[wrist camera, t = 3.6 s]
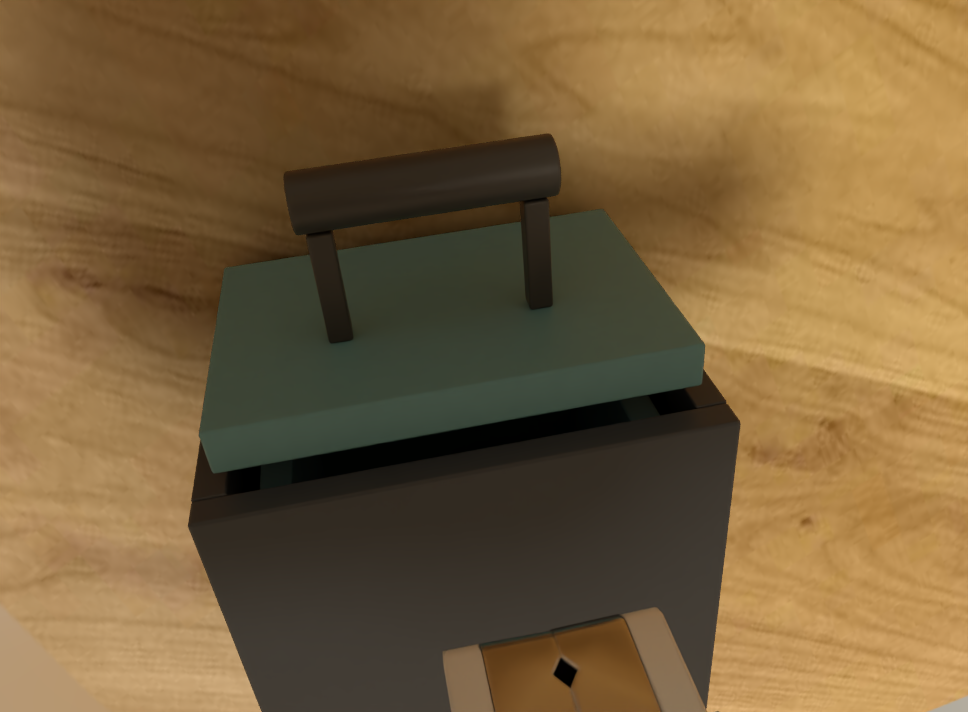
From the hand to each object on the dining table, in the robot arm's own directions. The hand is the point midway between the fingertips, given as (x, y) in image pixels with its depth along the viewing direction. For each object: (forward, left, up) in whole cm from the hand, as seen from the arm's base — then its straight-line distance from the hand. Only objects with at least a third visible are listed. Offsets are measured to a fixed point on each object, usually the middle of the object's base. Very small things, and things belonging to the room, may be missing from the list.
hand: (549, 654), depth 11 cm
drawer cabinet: (0, -10, -16) cm, 19 cm away
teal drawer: (0, -6, -16) cm, 17 cm away
